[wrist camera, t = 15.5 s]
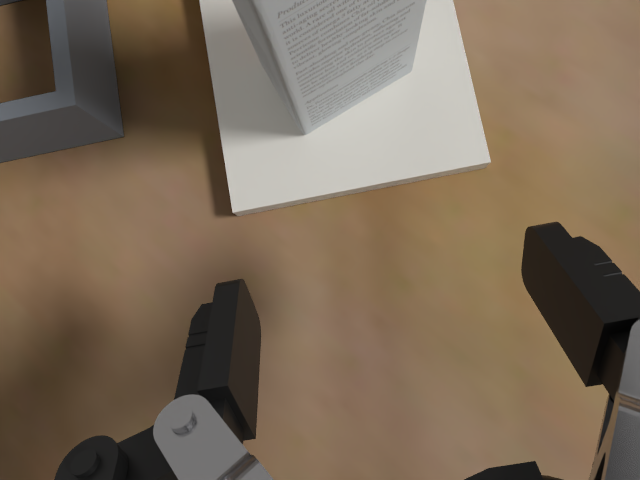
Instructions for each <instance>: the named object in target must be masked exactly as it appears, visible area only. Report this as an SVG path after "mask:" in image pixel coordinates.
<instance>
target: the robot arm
mask: <svg viewBox="0 0 640 480" xmlns="http://www.w3.org/2000/svg"><path fill="white" fill-rule="evenodd" d="M521 270H522V278H523V282H524V285H525V287H526V289H527V291H528V293H529V294H530V296H531V298H532V299H533V301H534V303H535V304H536V306H537V307H538V309H539V311H540V312H541V314H542V316H543V317H544V319H545V321H546V322H547V324H548V325H549V327H550V329H551V330H552V332H553V334H554V335H555V337H556V338H557V340H558V342H559V343H560V345H561V347H562V348H563V350H564V352H565V353H566V355H567V356H568V358H569V360H570V361H571V363H572V365H573V366H574V368H575V370H576V371H577V373H578V374H579V376H580V378H581V379H582V381H583V383H584V384H585V386H586V387H588V386H594V385H601V384H603V385H604V386H605V388H606V390H607V391H608V393H609V395H608V398H607V401H606V406H605V411H604V415H603V420H602V425H601V429H600V434H599V439H598V444H597V448H596V453H595V458H594V462H593V466H592V470H591V473H590V477H589V480H640V291H639V290H638V289H637V288H636V287H635V286H634V285H633V284H632V283H631V281H630V280H629V279H628V278H627V277H626V276H625V275H624V274H623V275H622V271H621V270H620V269H619V268H618V267H617V266H616V265H615V263H612V260H611V259H610V258H609V257H608V256H607V255H606V253H605V252H604V251H603V250H602V249H601V248H600V247H599V246H597V245H596V244H594V243H592V242H590V241H589V240H587V239H585V238H583V237H581V236H580V237H575V238H572V237H571V236H570V235H569V233H568V232H567V231H566V230H565V229H564V227H563V226H562V225H561V224H560V223H558V222H552V223H547V224H541V225H536V226H530V227H528V228H527V229H526V232H525V240H524V249H523V259H522V269H521ZM188 335H189V337H188V339H187V343H186V350H185V353H184V357H183V362H182V366H181V371H180V376H179V380H178V385H177V389H176V394H175V398H174V400H173V401H172V402H170V403H169V404H168V405H167V406H166V407H165V408H164V409H163V410H162V411H161V412H160V414H159V415H158V417H157V419H156V421H155V424H154V425H153V426H151V427H150V428H148V429H146V430H144V431H142V432H140V433H138V434H136V435H134V436H132V437H129V438H127V439H125V440H123V441H121V442H119V443H116V442H115V441H114V440H113V439H112V438H110V437H108V436H95V437H91V438H89V439H87V440H85V441H83V442H81V443H80V444H78V445H77V446H76V447H74V448H73V449H72V450H71V451H70V452H69V453H68V454H67V456H66V457H65V458H64V460H63V461H62V463H61V464H60V466H59V468H58V471H57V473H56V476H55V479H54V480H273V478H272V477H271V476H270V475H269V473H268V472H267V471H266V470H265V468H264V467H263V466H262V465H261V463H260V462H259V461H258V460H257V459H256V458H255V457H254V456H253V455H250V453H249V452H248V451H247V450H246V449H245V447H244V446H243V441H244V440H250V439H256V422H257V403H258V384H259V365H260V346H261V327H260V321H259V317H258V314H257V311H256V309H255V306H254V303H253V301H252V298H251V296H250V293H249V291H248V288H247V286H246V283H245V281H244V280H243V279H238V280H233V281H227V282H222V283H217V284H216V287H215V292H214V297H213V302H212V303H207V304H202V305H201V306H200V308H199V309H198V311H197V312H196V314H195V315H194V317H193V318H192V320H191V325H190V330H189V334H188ZM464 480H562V479H559V478H555V477H550V476H544V475H541V473H540V471H539V468H538V466H537V464H536V462H535V461H533V462H526V463H520V464H513V465H507V466H500V467H493V468H488V469H486V470H484V471H482V472H480V473H477V474H475V475H473V476H471V477H469V478H467V479H464Z"/></svg>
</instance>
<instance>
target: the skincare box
mask: <svg viewBox="0 0 640 480" xmlns="http://www.w3.org/2000/svg"><path fill="white" fill-rule="evenodd" d="M232 1H233V4H234V6H235V8H236V10H237V12H238V15H239V17H240V19H241V21H242V23H243V25H244V28H245V30H246V32H247V34H248V36H249V38H250V41H251V43H252V45H253V47H254V49H255V52H256V54H257V56H258V58H259V60H260V63H261V65H262V67H263V68H264V70H265V72H266V73H267V75H268V77H269V78H270V80H271V82H272V84H273V85H274V87H275V89H276V90H277V92H278V94H279V96H280V97H281V99H282V101H283V102H284V104H285V106H286V107H287V109H288V111H289V113H290V114H291V116H292V118H293V119H294V121H295V123H296V124H297V126H298V128H299V129H300V131H301V132H302V133H303V134H304V135H307V134H309V133H310V132H312V131H313V130H315V129H317V128H318V127H320V126H322V125H323V124H325V123H327V122H328V121H330V120H332V119H333V118H335V117H337V116H338V115H340V114H342V113H343V112H345V111H347V110H348V109H350V108H352V107H353V106H355V105H357V104H358V103H360V102H362V101H363V100H365V99H366V98H368V97H370V96H371V95H373V94H375V93H376V92H378V91H380V90H381V89H383V88H385V87H386V86H388V85H390V84H391V83H393V82H395V81H396V80H398V79H400V78H402V77H403V76H405V75H407V74H408V73H410V72H411V71H412V68H413V63H414V58H415V54H416V49H417V44H418V40H419V34H420V29H421V24H422V19H423V15H424V10H425V5H426V1H427V0H232Z"/></svg>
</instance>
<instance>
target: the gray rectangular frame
mask: <svg viewBox="0 0 640 480" xmlns="http://www.w3.org/2000/svg"><path fill="white" fill-rule="evenodd" d="M17 1H21V0H0V5H4V4H8V3H12V2H17ZM46 5H47V14H48V23H49V32H50V42H51V51H52V60H53V69H54V78H55V87H56V91H54V92H49V93H45V94H40V95H36V96H31V97H27V98H22V99H18V100H13V101H8V102H4V103H0V163H1V162H6V161H11V160H16V159H20V158H25V157H30V156H35V155H39V154H44V153H49V152H54V151H58V150H63V149H68V148H73V147H77V146H82V145H87V144H92V143H96V142H101V141H106V140H111V139H115V138H120V137H124V133H123V125H122V117H121V110H120V102H119V94H118V86H117V78H116V71H115V63H114V55H113V47H112V39H111V32H110V24H109V16H108V8H107V0H46Z"/></svg>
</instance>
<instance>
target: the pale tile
mask: <svg viewBox="0 0 640 480" xmlns="http://www.w3.org/2000/svg"><path fill="white" fill-rule="evenodd" d="M199 1H200V8H201V14H202V21H203V27H204V33H205V40H206V46H207V53H208V59H209V65H210V72H211V78H212V84H213V91H214V97H215V104H216V110H217V116H218V123H219V129H220V136H221V142H222V148H223V155H224V161H225V167H226V174H227V180H228V187H229V193H230V199H231V206H232V212H233V213H234V214H236V215H237V216H242V215H247V214H252V213H257V212H262V211H267V210H272V209H278V208H283V207H288V206H293V205H298V204H303V203H308V202H313V201H319V200H324V199H329V198H334V197H339V196H344V195H349V194H354V193H360V192H365V191H370V190H375V189H380V188H385V187H390V186H395V185H401V184H406V183H411V182H416V181H421V180H426V179H431V178H436V177H442V176H447V175H452V174H457V173H462V172H467V171H472V170H477V169H483V168H485V167H486V166H487V165H488V164H489V163H490V162H491V161H490V156H489V152H488V148H487V143H486V139H485V135H484V131H483V126H482V122H481V118H480V114H479V109H478V105H477V101H476V97H475V92H474V88H473V84H472V80H471V75H470V71H469V67H468V63H467V58H466V54H465V50H464V46H463V41H462V37H461V33H460V29H459V24H458V20H457V16H456V12H455V7H454V3H453V0H427V1H426V5H425V10H424V15H423V19H422V24H421V29H420V34H419V40H418V44H417V49H416V54H415V58H414V63H413V68H412V71H411V72H410V73H408V74H407V75H405V76H403V77H402V78H400V79H398V80H396V81H395V82H393V83H391V84H390V85H388V86H386V87H385V88H383V89H381V90H380V91H378V92H376V93H375V94H373V95H371V96H370V97H368V98H366V99H365V100H363V101H362V102H360V103H358V104H357V105H355V106H353V107H352V108H350V109H348V110H347V111H345V112H343V113H342V114H340V115H338V116H337V117H335V118H333V119H332V120H330V121H328V122H327V123H325V124H323V125H322V126H320V127H318V128H317V129H315V130H313V131H312V132H310V133H309V134H307V135H304V134H303V133H302V132H301V131H300V129H299V128H298V126H297V124H296V123H295V121H294V119H293V118H292V116H291V114H290V113H289V111H288V109H287V107H286V106H285V104H284V102H283V101H282V99H281V97H280V96H279V94H278V92H277V90H276V89H275V87H274V85H273V84H272V82H271V80H270V78H269V77H268V75H267V73H266V72H265V70H264V68H263V67H262V65H261V63H260V60H259V58H258V56H257V54H256V52H255V49H254V47H253V45H252V43H251V41H250V38H249V36H248V34H247V32H246V30H245V28H244V25H243V23H242V21H241V19H240V17H239V15H238V12H237V10H236V8H235V6H234V4H233V1H232V0H199Z"/></svg>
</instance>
